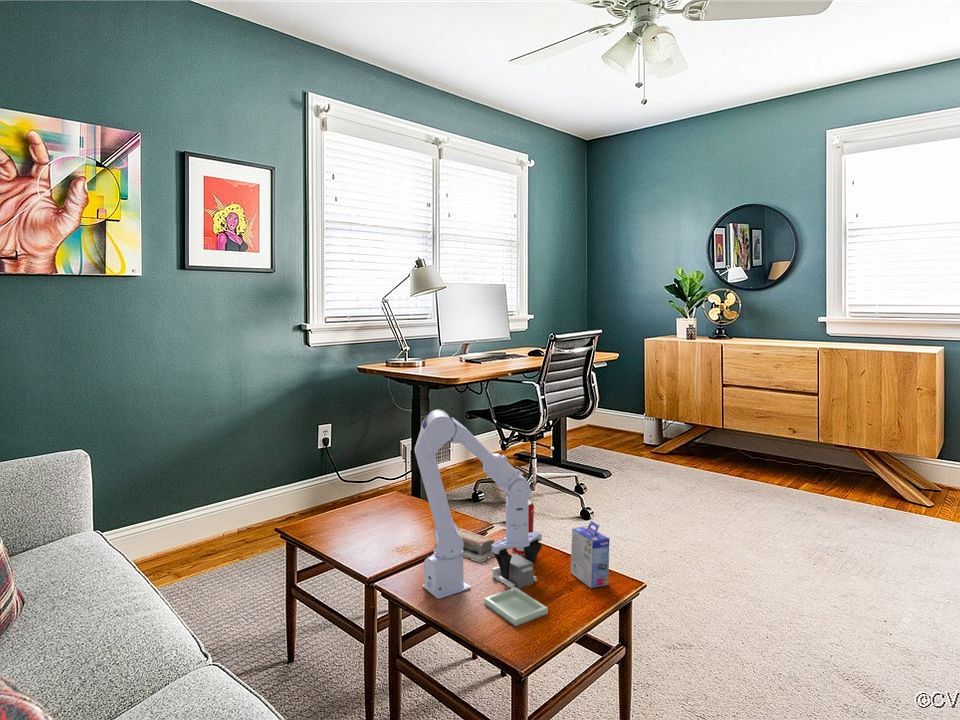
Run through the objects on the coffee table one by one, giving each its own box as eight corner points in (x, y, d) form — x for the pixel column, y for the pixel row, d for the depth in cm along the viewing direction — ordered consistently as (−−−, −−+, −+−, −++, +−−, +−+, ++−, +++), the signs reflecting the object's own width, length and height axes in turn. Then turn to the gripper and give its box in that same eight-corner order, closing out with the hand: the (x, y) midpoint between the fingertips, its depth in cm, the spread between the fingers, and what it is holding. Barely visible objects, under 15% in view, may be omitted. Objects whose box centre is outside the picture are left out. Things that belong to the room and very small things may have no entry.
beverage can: (521, 545, 176) (521, 495, 174) (538, 552, 171) (538, 500, 170) (507, 551, 172) (507, 500, 170) (524, 558, 167) (524, 505, 166)
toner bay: (510, 589, 149) (510, 579, 149) (492, 577, 156) (491, 568, 156) (537, 580, 154) (537, 570, 154) (518, 569, 161) (518, 559, 160)
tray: (515, 626, 132) (515, 619, 132) (484, 604, 142) (484, 597, 142) (547, 613, 138) (547, 607, 137) (515, 593, 147) (515, 587, 147)
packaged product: (433, 531, 176) (456, 521, 183) (433, 547, 176) (456, 537, 184) (480, 547, 164) (503, 536, 172) (480, 564, 165) (503, 553, 172)
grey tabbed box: (520, 590, 149) (520, 568, 149) (502, 578, 156) (501, 557, 155) (535, 585, 152) (535, 564, 151) (516, 573, 158) (516, 553, 158)
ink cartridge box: (610, 585, 151) (610, 529, 150) (591, 589, 149) (591, 532, 147) (588, 569, 160) (588, 516, 159) (570, 573, 158) (570, 519, 156)
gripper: (503, 533, 145) (503, 587, 147) (549, 520, 153) (549, 572, 155) (486, 524, 151) (487, 576, 152) (531, 512, 159) (532, 562, 160)
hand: (517, 573), depth 154 cm, fingers open, 7 cm apart
